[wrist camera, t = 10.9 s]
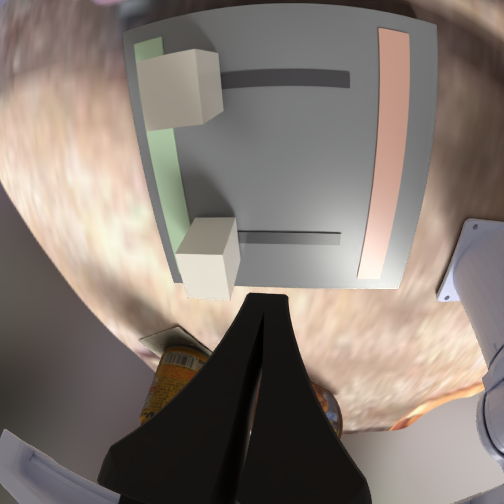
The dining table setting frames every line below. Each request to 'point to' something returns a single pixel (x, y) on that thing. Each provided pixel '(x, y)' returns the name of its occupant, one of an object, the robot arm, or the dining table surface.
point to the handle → (209, 258)
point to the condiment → (171, 367)
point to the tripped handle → (180, 89)
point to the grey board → (298, 140)
